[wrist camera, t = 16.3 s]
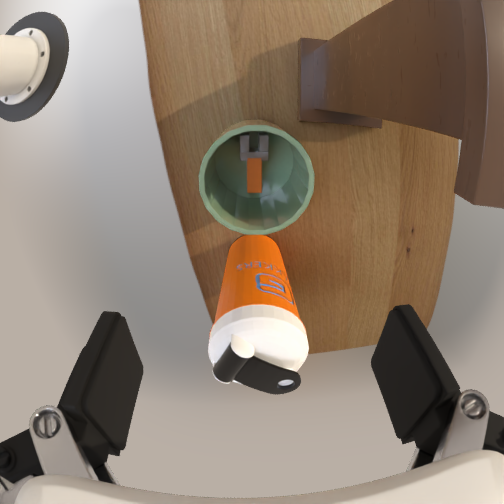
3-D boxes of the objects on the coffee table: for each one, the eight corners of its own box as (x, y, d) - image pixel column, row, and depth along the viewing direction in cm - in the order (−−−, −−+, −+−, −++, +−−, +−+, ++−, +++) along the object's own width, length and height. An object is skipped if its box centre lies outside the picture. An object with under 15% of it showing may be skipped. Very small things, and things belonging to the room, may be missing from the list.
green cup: (213, 200, 36) (202, 235, 27) (210, 120, 31) (196, 127, 22) (294, 200, 36) (310, 234, 27) (297, 120, 31) (317, 127, 23)
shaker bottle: (273, 290, 43) (288, 410, 25) (213, 274, 41) (195, 395, 24) (297, 237, 39) (333, 352, 21) (231, 218, 37) (219, 330, 20)
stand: (297, 120, 31) (472, 205, 6) (298, 40, 26) (450, -96, 1) (376, 127, 31) (587, 224, 6) (378, 52, 27) (594, 32, 1)
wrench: (266, 185, 35) (268, 192, 32) (241, 185, 35) (240, 193, 32) (266, 132, 31) (268, 135, 29) (240, 132, 31) (239, 135, 29)
